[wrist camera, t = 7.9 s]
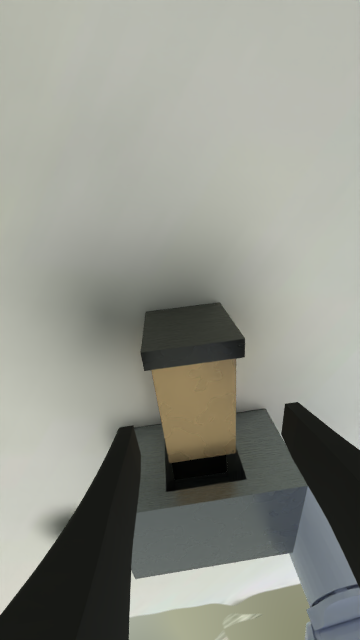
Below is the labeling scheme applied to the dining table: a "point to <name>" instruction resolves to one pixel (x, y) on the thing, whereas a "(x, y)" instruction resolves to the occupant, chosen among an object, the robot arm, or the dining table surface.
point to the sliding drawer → (194, 378)
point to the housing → (217, 503)
